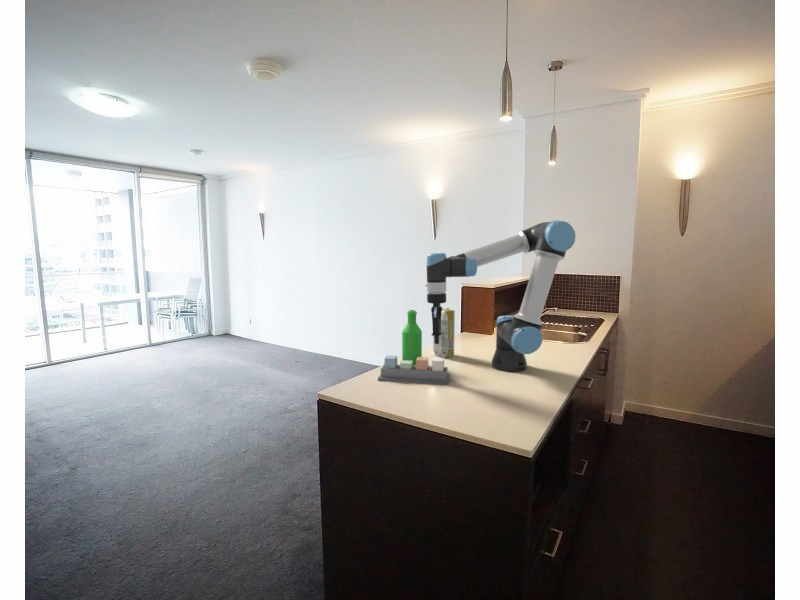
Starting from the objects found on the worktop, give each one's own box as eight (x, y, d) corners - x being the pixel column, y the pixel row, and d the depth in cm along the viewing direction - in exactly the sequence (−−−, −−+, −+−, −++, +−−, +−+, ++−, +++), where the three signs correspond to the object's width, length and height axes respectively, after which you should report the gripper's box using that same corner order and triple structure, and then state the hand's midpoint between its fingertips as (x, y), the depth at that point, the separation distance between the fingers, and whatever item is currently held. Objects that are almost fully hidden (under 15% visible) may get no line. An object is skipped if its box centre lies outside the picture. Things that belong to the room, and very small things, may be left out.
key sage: (412, 372, 168) (412, 360, 167) (410, 375, 164) (410, 363, 163) (402, 371, 169) (402, 360, 168) (400, 375, 164) (400, 363, 164)
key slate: (397, 367, 169) (397, 355, 168) (395, 370, 165) (395, 358, 164) (387, 367, 170) (386, 355, 169) (384, 370, 166) (384, 358, 165)
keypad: (449, 375, 168) (449, 365, 168) (447, 384, 158) (447, 373, 157) (384, 372, 174) (384, 362, 173) (377, 380, 163) (377, 370, 163)
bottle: (420, 368, 179) (420, 312, 175) (400, 367, 181) (400, 311, 177) (422, 362, 187) (423, 309, 184) (404, 361, 189) (404, 308, 186)
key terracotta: (428, 369, 166) (428, 357, 166) (426, 372, 162) (426, 360, 161) (417, 368, 167) (417, 356, 167) (416, 371, 163) (416, 359, 162)
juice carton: (456, 356, 197) (457, 307, 194) (444, 359, 193) (444, 309, 190) (444, 352, 205) (444, 305, 202) (431, 354, 201) (432, 306, 197)
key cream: (444, 370, 165) (444, 358, 164) (443, 373, 161) (443, 361, 160) (433, 369, 166) (433, 357, 165) (432, 372, 162) (432, 360, 161)
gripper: (429, 290, 166) (430, 346, 170) (424, 294, 154) (425, 355, 157) (447, 290, 165) (447, 347, 168) (444, 294, 152) (445, 355, 155)
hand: (437, 350), depth 163 cm, fingers closed
